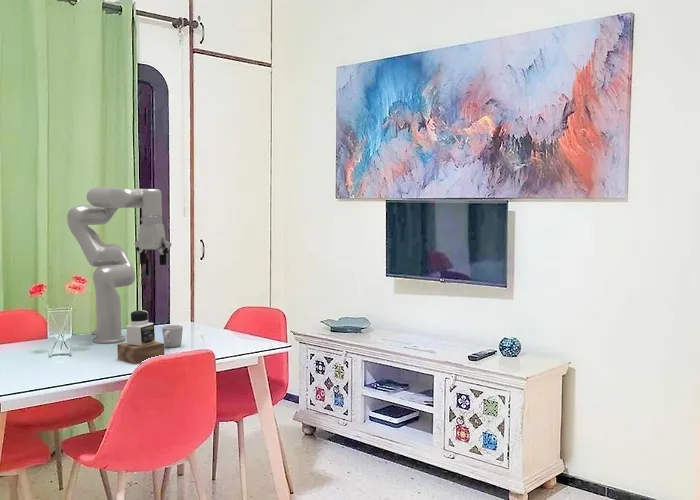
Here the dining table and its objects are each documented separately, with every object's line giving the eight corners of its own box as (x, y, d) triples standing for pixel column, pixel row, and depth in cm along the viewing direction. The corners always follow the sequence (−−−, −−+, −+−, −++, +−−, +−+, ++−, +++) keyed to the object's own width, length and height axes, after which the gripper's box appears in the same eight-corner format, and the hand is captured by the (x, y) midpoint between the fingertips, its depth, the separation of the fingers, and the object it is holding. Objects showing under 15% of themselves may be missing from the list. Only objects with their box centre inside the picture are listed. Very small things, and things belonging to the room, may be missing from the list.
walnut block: (117, 360, 256) (117, 344, 256) (146, 355, 265) (146, 339, 265) (135, 365, 248) (135, 348, 248) (164, 359, 257) (164, 343, 257)
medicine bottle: (142, 346, 252) (139, 313, 251) (126, 344, 255) (124, 312, 254) (155, 341, 258) (153, 309, 257) (140, 340, 261) (138, 309, 260)
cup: (174, 350, 273) (174, 329, 272) (155, 349, 274) (155, 329, 274) (186, 344, 283) (186, 325, 283) (168, 344, 285) (167, 324, 284)
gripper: (128, 220, 273) (129, 264, 274) (163, 221, 266) (164, 265, 267) (141, 220, 280) (142, 263, 281) (176, 220, 273) (177, 264, 274)
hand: (153, 264), depth 274 cm, fingers open, 9 cm apart
